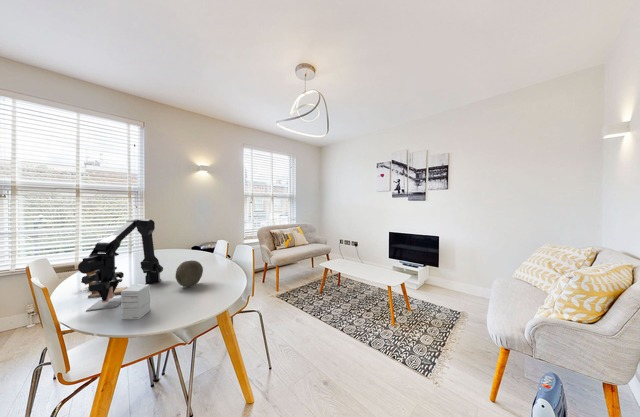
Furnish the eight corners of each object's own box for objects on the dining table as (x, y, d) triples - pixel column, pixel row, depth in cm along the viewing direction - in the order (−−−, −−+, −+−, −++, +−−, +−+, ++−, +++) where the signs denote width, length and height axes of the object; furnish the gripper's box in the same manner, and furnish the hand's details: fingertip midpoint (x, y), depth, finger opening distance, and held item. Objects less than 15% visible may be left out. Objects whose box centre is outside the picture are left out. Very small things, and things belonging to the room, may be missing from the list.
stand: (88, 297, 115) (87, 284, 114) (96, 291, 122) (96, 279, 122) (120, 294, 120) (120, 281, 119) (127, 288, 127) (127, 276, 127)
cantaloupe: (204, 287, 130) (204, 262, 130) (176, 292, 123) (175, 265, 122) (201, 279, 142) (201, 256, 142) (175, 284, 134) (175, 260, 134)
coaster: (126, 297, 115) (126, 296, 115) (116, 307, 105) (116, 306, 105) (99, 301, 111) (99, 299, 111) (86, 311, 101) (86, 310, 101)
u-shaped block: (113, 297, 111) (112, 286, 111) (107, 302, 106) (107, 290, 106) (107, 297, 110) (107, 286, 110) (101, 302, 105) (101, 291, 105)
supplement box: (133, 311, 102) (133, 284, 101) (150, 310, 103) (150, 284, 102) (120, 319, 95) (120, 290, 94) (139, 319, 95) (138, 290, 95)
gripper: (96, 263, 113) (97, 292, 114) (71, 274, 96) (72, 309, 96) (123, 261, 117) (124, 289, 118) (104, 272, 100) (105, 305, 101)
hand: (107, 298), depth 108 cm, fingers closed on u-shaped block, 5 cm apart
